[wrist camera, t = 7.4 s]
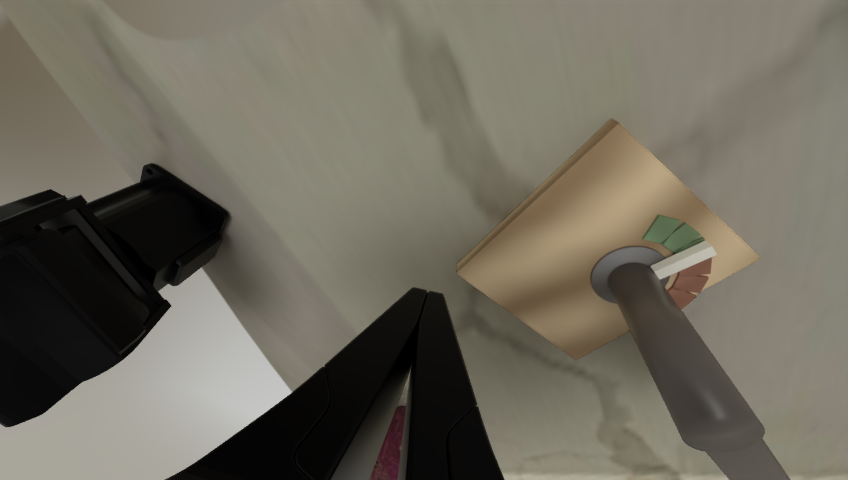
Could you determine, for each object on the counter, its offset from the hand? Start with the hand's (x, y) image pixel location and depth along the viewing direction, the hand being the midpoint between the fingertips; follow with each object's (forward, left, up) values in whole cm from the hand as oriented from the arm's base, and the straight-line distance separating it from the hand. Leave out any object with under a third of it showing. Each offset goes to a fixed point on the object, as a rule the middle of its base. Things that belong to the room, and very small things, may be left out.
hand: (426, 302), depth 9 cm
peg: (+16, +2, -12) cm, 20 cm away
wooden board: (+11, 0, -13) cm, 17 cm away
